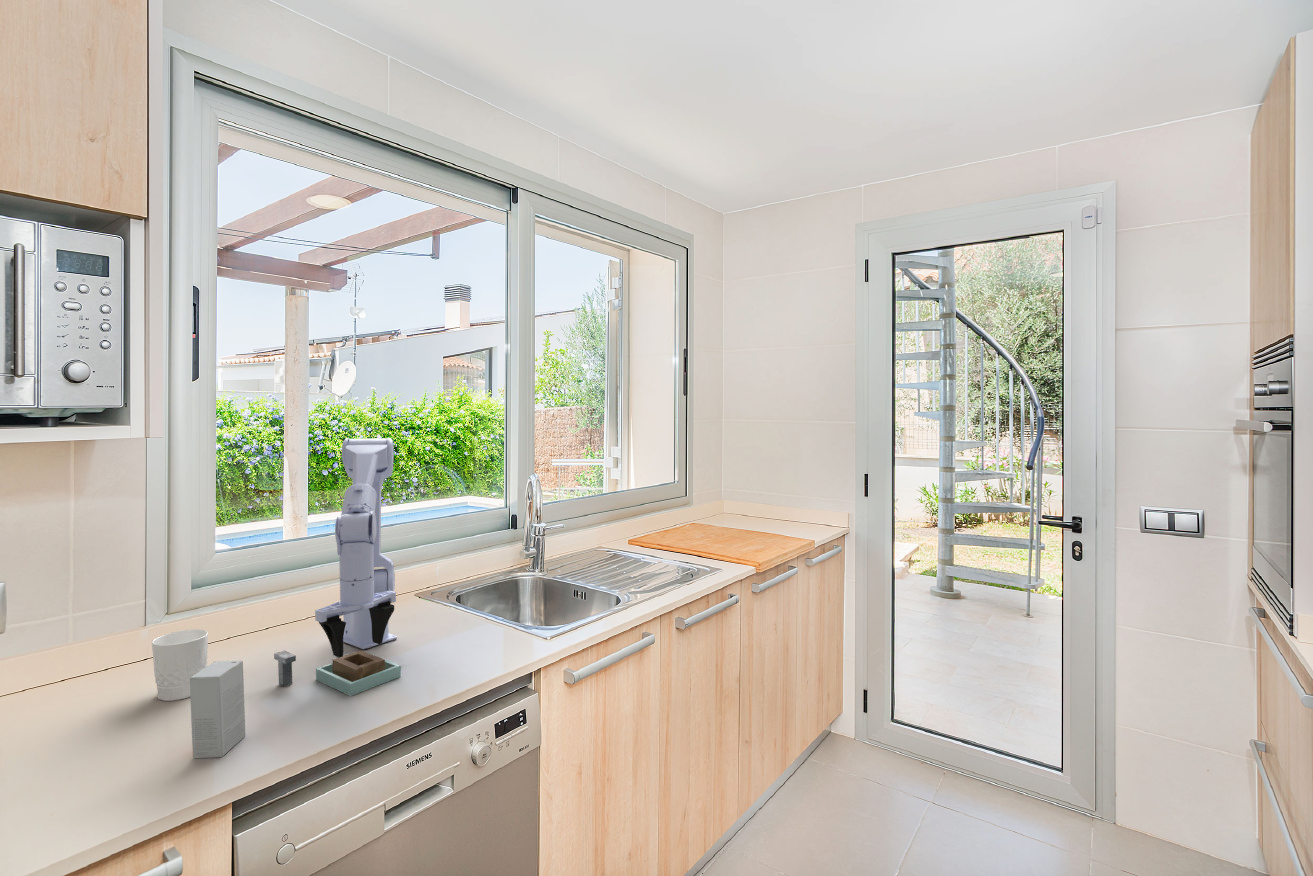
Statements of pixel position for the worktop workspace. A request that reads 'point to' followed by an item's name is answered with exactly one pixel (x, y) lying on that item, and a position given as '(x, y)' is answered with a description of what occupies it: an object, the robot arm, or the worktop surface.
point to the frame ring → (357, 665)
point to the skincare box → (217, 708)
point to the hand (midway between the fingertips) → (358, 649)
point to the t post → (285, 667)
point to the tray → (352, 688)
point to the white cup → (178, 661)
